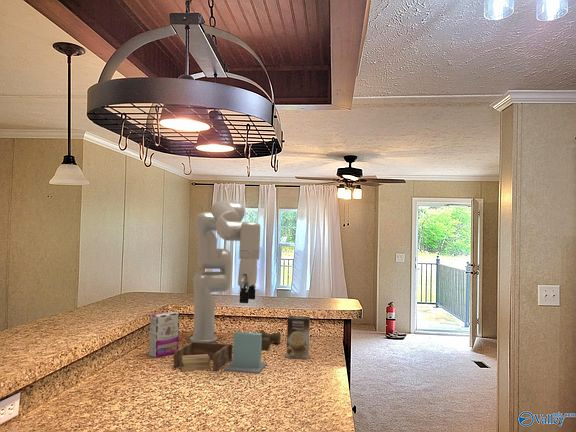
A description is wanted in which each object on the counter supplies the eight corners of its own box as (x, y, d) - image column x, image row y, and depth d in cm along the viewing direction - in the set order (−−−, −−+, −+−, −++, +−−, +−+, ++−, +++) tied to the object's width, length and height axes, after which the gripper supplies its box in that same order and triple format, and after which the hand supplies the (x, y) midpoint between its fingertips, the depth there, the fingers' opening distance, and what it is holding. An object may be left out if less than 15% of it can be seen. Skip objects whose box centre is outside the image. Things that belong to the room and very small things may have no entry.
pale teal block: (235, 363, 172) (236, 331, 173) (260, 365, 170) (261, 333, 171) (232, 366, 169) (233, 333, 170) (259, 368, 167) (260, 334, 168)
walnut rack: (188, 356, 183) (189, 341, 183) (232, 359, 180) (232, 344, 180) (171, 367, 167) (171, 351, 167) (218, 371, 163) (218, 354, 164)
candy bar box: (170, 351, 191) (172, 311, 192) (178, 353, 188) (180, 312, 189) (148, 356, 182) (149, 314, 183) (155, 358, 179) (157, 316, 180)
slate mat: (233, 362, 177) (233, 360, 177) (266, 364, 174) (266, 363, 174) (223, 370, 165) (224, 369, 165) (259, 373, 162) (259, 371, 163)
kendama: (252, 350, 198) (262, 339, 217) (274, 352, 196) (282, 341, 216) (252, 336, 198) (262, 327, 217) (274, 338, 196) (282, 328, 216)
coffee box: (285, 358, 185) (286, 318, 185) (287, 354, 191) (288, 315, 192) (308, 359, 184) (309, 319, 184) (309, 355, 190) (310, 316, 191)
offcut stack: (180, 368, 167) (181, 355, 168) (208, 366, 171) (208, 354, 171) (182, 372, 163) (182, 359, 163) (210, 370, 166) (210, 357, 166)
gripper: (245, 253, 181) (244, 297, 180) (232, 255, 164) (230, 303, 163) (264, 254, 180) (262, 298, 179) (253, 256, 163) (251, 305, 162)
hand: (247, 301), depth 171 cm, fingers open, 9 cm apart
